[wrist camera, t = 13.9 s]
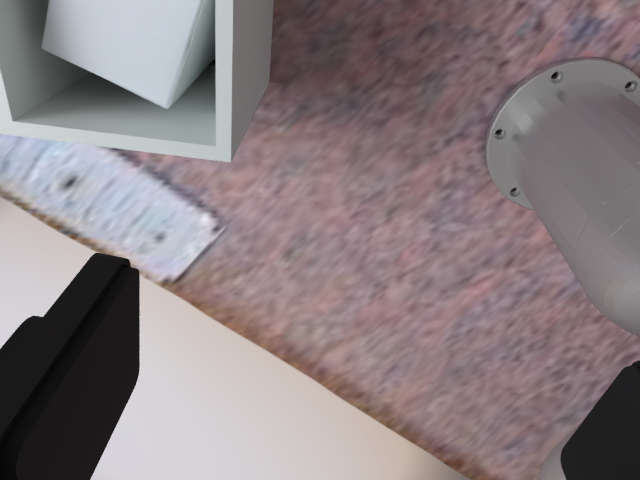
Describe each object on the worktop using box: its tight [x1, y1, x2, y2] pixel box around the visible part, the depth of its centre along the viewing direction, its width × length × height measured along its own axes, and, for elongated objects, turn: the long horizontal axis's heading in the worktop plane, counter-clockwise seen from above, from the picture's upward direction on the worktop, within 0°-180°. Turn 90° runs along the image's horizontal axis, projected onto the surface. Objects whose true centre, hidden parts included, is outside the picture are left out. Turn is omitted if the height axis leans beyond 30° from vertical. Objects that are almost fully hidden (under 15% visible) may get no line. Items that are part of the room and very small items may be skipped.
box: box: [0, 0, 274, 162], centre depth 30 cm, size 12×12×15 cm
